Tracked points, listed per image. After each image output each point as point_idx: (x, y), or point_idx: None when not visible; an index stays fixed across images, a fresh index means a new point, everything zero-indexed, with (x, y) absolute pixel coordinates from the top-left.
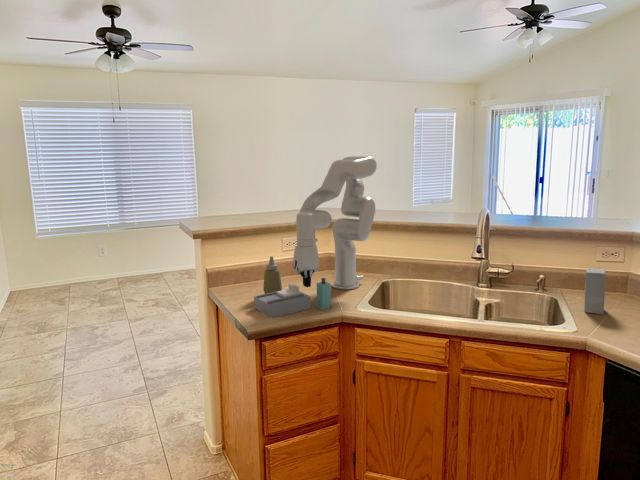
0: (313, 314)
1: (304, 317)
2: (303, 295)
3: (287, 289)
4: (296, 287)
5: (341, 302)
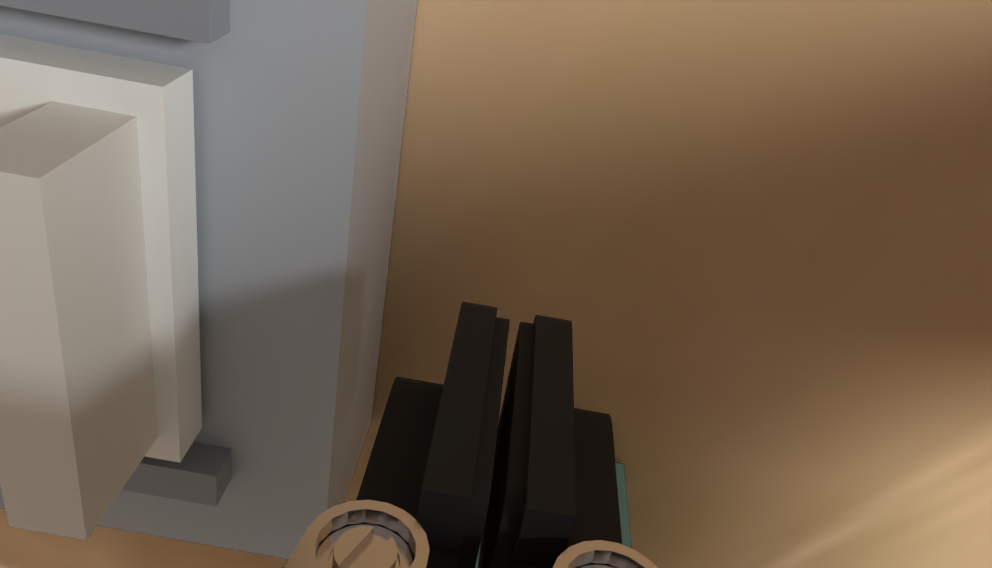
0: (258, 560)
1: (116, 549)
2: (227, 485)
3: (23, 71)
4: (19, 521)
5: (859, 549)
